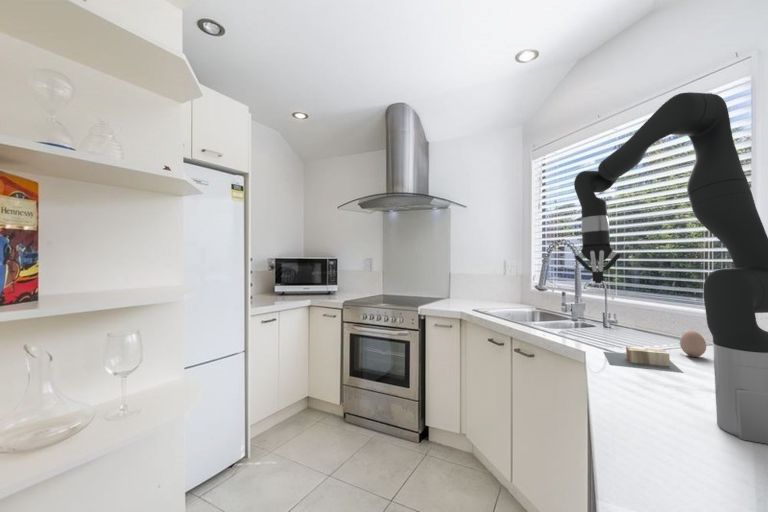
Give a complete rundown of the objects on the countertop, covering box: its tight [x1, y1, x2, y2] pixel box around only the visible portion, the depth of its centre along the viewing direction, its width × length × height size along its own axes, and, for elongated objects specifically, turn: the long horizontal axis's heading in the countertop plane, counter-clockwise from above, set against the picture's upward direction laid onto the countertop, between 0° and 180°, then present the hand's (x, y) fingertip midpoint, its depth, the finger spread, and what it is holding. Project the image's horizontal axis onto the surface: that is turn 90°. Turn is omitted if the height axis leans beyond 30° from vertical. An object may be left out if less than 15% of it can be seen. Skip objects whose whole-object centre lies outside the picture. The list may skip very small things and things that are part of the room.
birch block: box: [625, 346, 671, 366], centre depth 104 cm, size 5×4×10 cm
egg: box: [679, 329, 707, 358], centre depth 110 cm, size 7×7×9 cm
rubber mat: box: [603, 351, 684, 374], centre depth 105 cm, size 16×18×1 cm
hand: (598, 283), depth 103 cm, fingers closed
